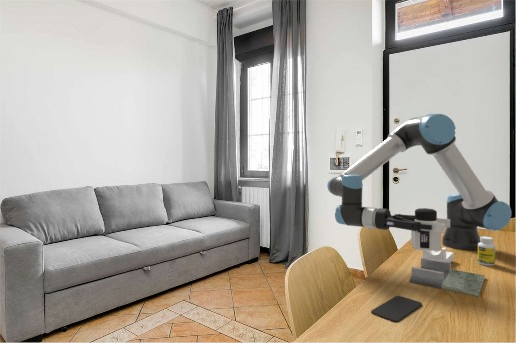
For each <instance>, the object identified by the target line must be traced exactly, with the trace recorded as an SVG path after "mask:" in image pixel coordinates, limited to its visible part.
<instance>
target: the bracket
mask: <svg viewBox="0 0 516 343" xmlns="http://www.w3.org/2000/svg"><path fill="white" fill-rule="evenodd" d="M422 258H427V259H434V260H440V261H446V262H451V263H452V262H453V261H454V252H450V251H447V247H442V248H441V250H440V251H430V250H422Z"/></svg>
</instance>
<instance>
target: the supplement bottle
mask: <svg viewBox="0 0 516 343" xmlns="http://www.w3.org/2000/svg"><path fill="white" fill-rule="evenodd" d="M480 241H481V242H480V243H478V249H477V258H476V259H477V263H478V264H479V265H482V266H487V267H488V266H489V267H490V266H491V267H493V266H495V264H496V245H495V244H494V238H493V237H490V236H480Z"/></svg>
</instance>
